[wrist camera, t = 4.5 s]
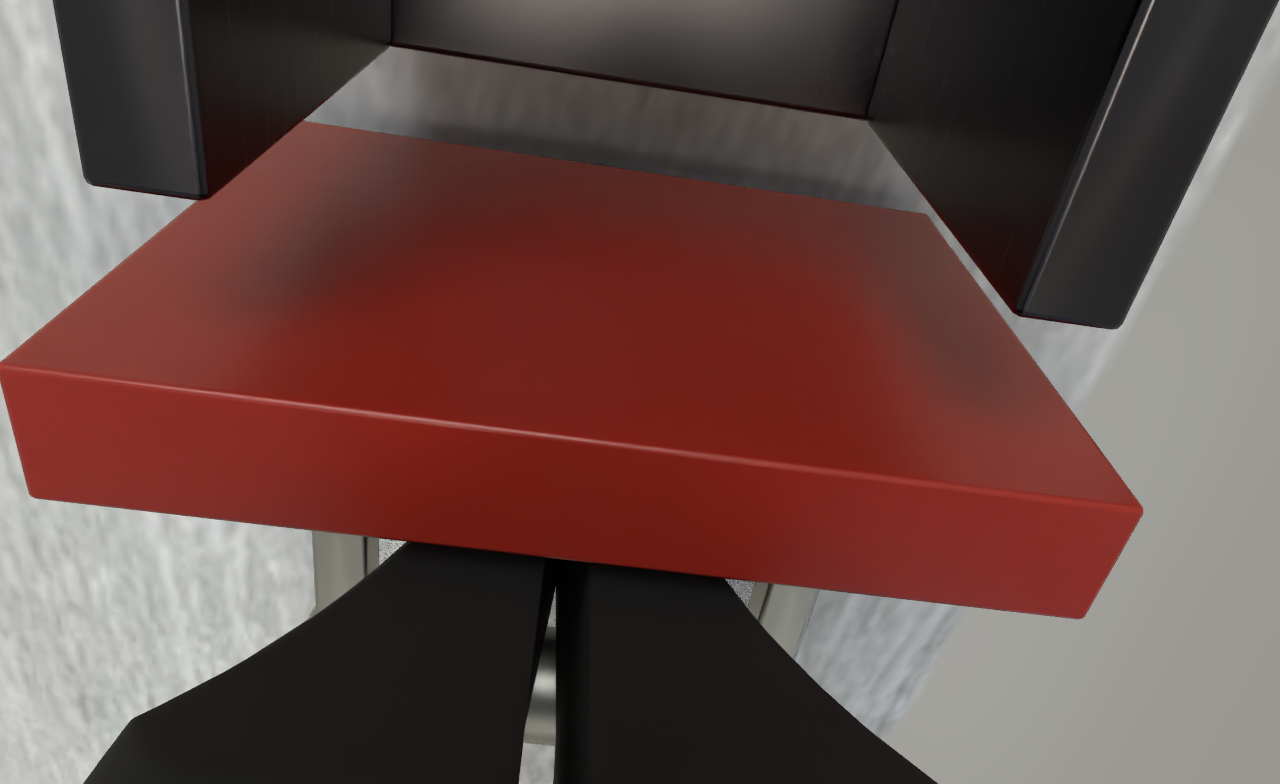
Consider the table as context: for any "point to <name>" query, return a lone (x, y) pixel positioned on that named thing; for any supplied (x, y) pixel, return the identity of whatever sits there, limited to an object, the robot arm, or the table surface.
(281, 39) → the drawer
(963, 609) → the table surface
